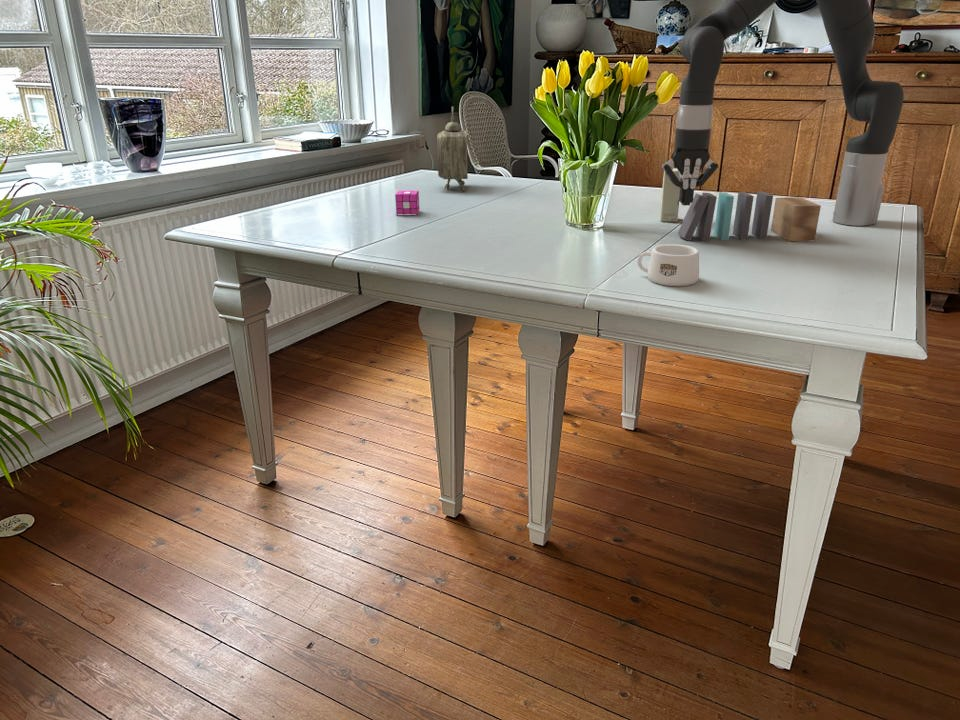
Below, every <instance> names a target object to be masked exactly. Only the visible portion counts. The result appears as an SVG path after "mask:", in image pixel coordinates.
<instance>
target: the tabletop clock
mask: <svg viewBox="0 0 960 720" xmlns="http://www.w3.org/2000/svg"><path fill="white" fill-rule="evenodd" d="M454 111H455V107H454V106H451V117H450V120H451V121H450V122H447V124H445V127H444V130H442V131H440V132H439V133H437V137H436V148H437V149H436V150H437V175H438V177H439V178H441V179H443V180H447V184H445V185H444V188H445V189H446V188H449V189H451V185H450V182H451V180H455V181H456V182H457V184H458V186H459V191H460V192H461V191H463V192H464V191H465V189H466V188H465V187H464V186H465V184H466V183H465V181H464V180H468V172H469V171H468V170H469V169H468V131H467V130H465V129H463V130H462V125H461V124H460V123H458V122H456V121H455V119H456V118H455V112H454ZM462 185H463V186H462Z"/></svg>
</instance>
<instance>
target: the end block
mask: <svg viewBox="0 0 960 720" xmlns="http://www.w3.org/2000/svg"><path fill="white" fill-rule="evenodd" d="M821 207H822V206H821V205H820V204H817V203H816V202H813V201H811V200H808V199H806V198H803V197H800V196H799V197H798V196H797V197H796V196H794V197H792V196H791V197H789V196H788V197H787V196H785V197H775V201H774V207H773V213H772V220H771V225H770V232H771V233H774V234H775V235H777V236H779V237H780V238H783V239H785V241H788V242H805V240H816V234H817V229H818V223H819V219H820V213H821Z"/></svg>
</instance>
